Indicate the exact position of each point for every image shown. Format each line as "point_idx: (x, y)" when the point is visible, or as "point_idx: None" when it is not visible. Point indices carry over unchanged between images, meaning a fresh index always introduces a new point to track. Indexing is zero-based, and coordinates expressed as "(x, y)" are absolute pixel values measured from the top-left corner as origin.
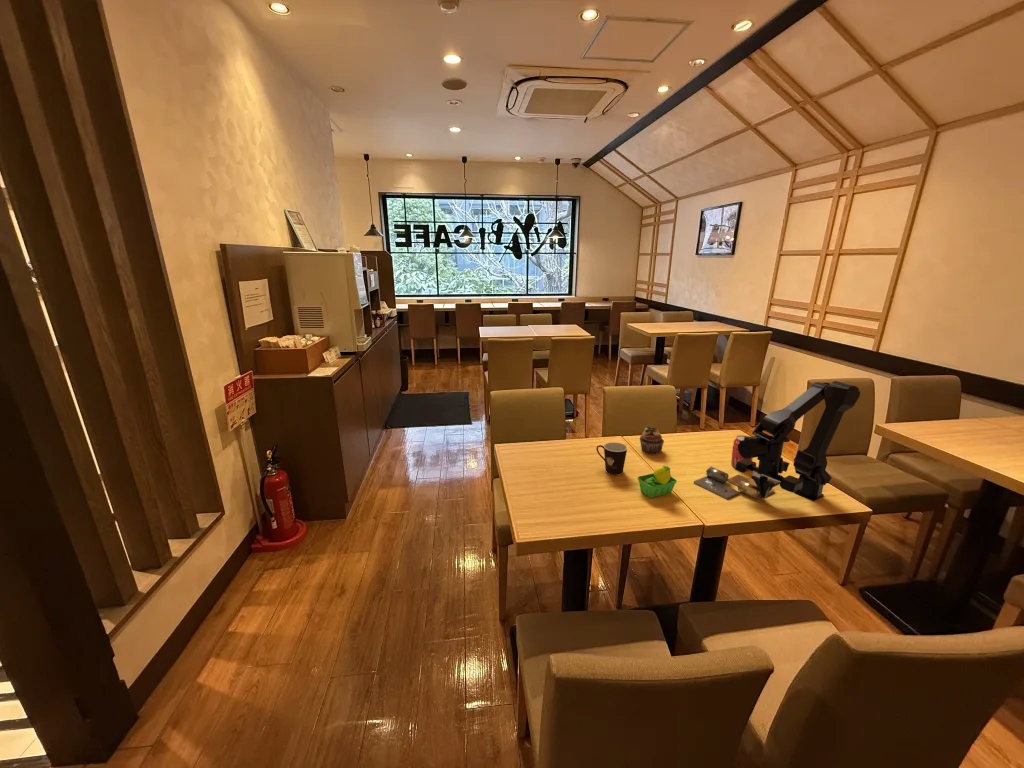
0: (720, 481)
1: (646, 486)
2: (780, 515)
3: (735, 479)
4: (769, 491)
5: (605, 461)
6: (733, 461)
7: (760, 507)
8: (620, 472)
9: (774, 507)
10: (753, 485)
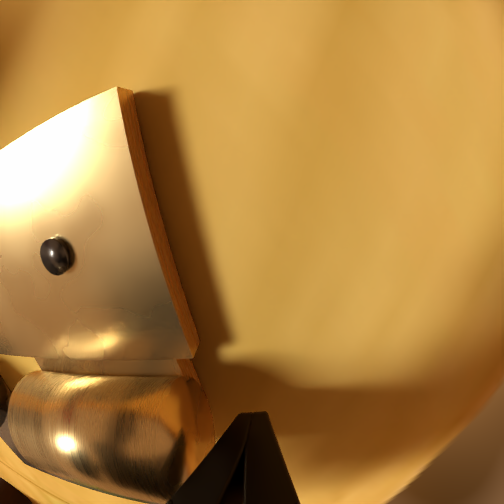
0: (3, 413)
1: None
2: (458, 411)
3: None
4: (296, 493)
5: None
6: None
7: (320, 454)
8: (24, 500)
9: (385, 382)
10: (113, 490)
